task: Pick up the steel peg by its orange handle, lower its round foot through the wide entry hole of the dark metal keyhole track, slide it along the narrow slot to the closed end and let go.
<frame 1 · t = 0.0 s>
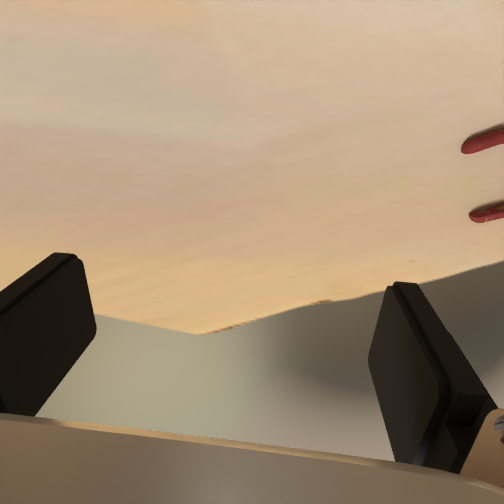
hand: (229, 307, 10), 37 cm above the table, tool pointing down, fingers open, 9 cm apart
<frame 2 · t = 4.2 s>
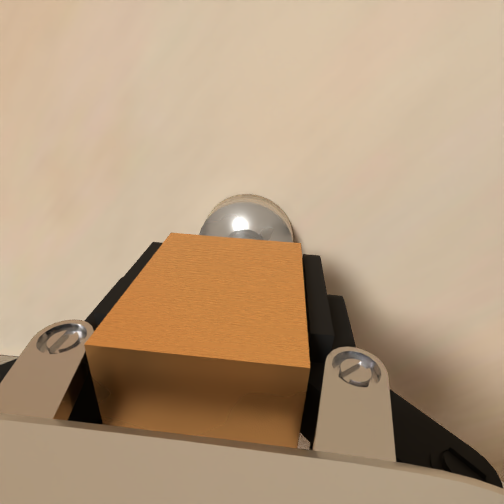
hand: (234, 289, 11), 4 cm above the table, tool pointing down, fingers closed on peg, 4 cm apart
peg: (248, 237, 15), on the table, touching gripper
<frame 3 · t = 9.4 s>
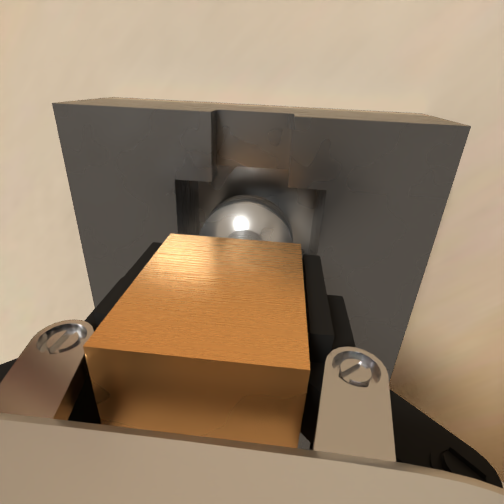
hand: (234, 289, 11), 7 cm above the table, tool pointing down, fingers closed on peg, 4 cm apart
peg: (248, 237, 15), point 3 cm above the table, touching gripper
keyhole track: (251, 317, 21), on the table
when the fingers open (6 cm above the table, at t = 14.9 s): peg stays where it is, resting on keyhole track.
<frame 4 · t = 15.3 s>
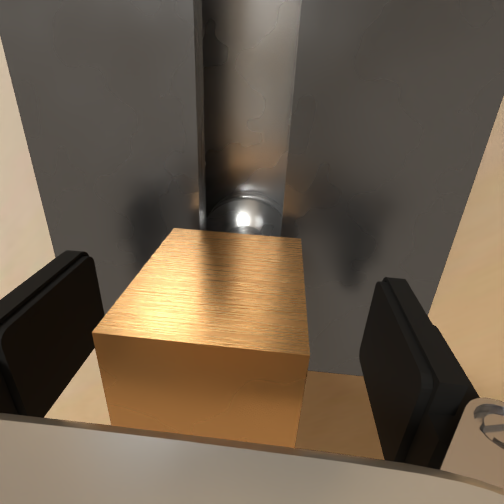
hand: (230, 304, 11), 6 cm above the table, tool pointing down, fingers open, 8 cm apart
peg: (248, 234, 15), point 1 cm above the table, touching keyhole track
keyhole track: (259, 42, 13), on the table
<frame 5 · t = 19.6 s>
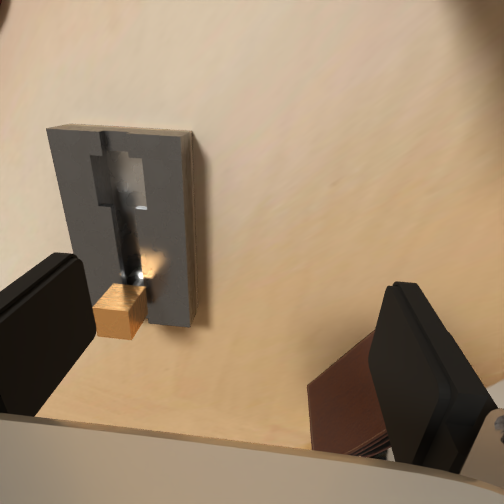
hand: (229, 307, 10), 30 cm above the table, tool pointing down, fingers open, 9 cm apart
peg: (144, 280, 46), point 1 cm above the table, touching keyhole track
letter holder: (374, 363, 51), on the table
keyhole track: (141, 225, 43), on the table
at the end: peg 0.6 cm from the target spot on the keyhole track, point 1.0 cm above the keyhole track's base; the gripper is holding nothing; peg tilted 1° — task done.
